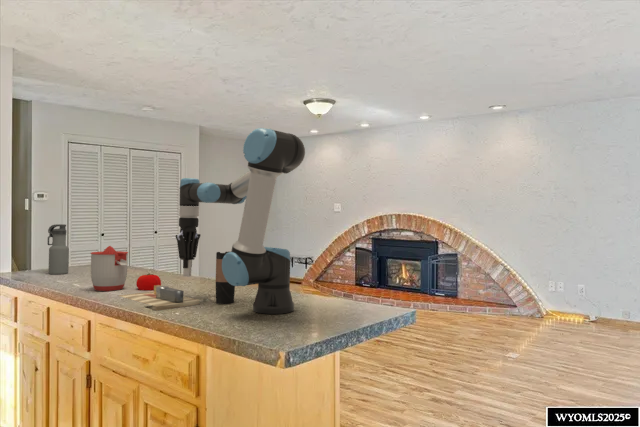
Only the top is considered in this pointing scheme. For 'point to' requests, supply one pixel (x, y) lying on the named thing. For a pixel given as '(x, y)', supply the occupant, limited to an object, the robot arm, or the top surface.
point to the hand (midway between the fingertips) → (187, 276)
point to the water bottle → (58, 250)
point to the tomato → (148, 282)
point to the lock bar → (169, 294)
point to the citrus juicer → (108, 269)
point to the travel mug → (223, 283)
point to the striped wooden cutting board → (159, 301)
